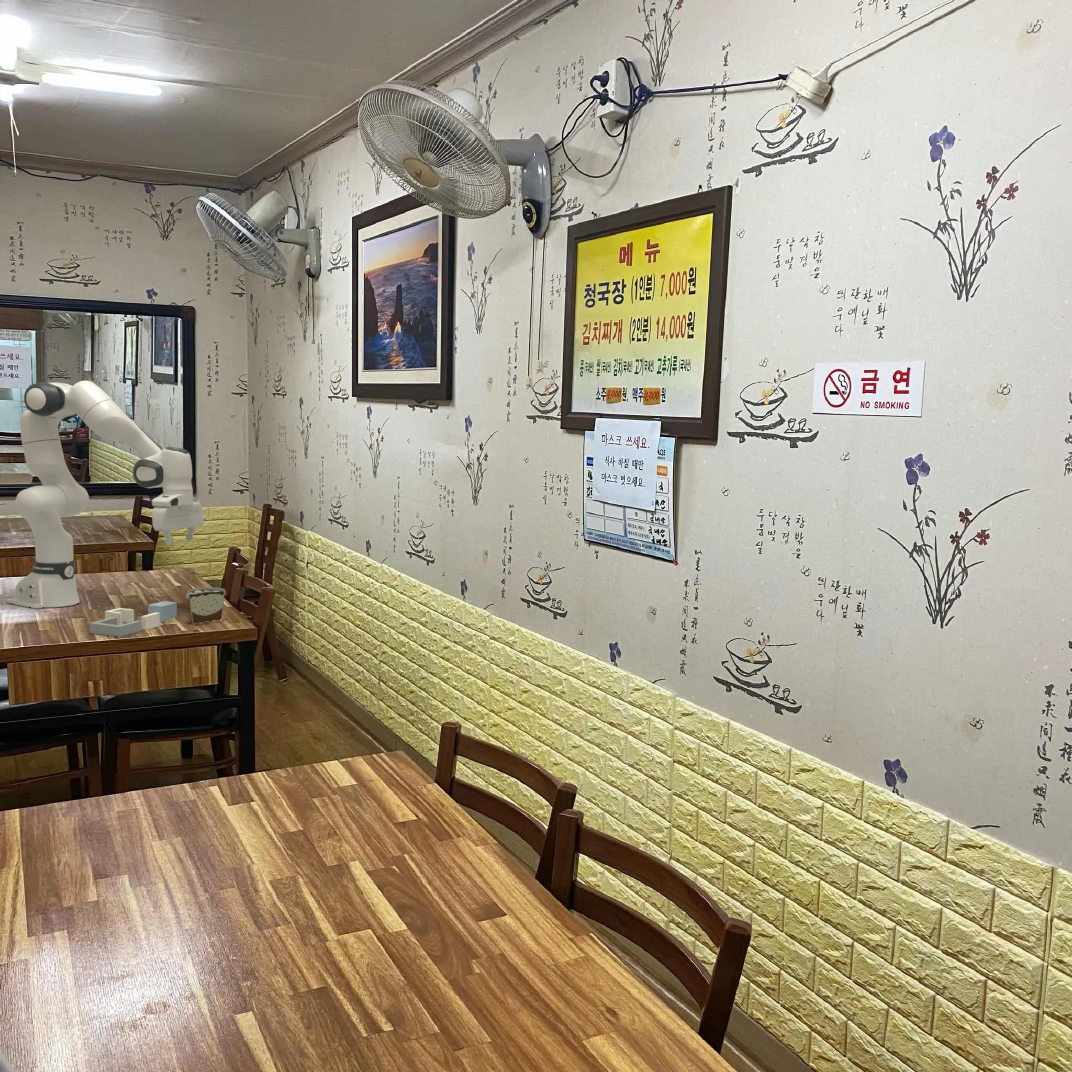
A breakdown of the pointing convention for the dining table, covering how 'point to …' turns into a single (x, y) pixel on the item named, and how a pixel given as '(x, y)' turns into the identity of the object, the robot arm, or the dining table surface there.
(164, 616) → the block
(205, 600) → the food container
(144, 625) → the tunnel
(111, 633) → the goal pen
